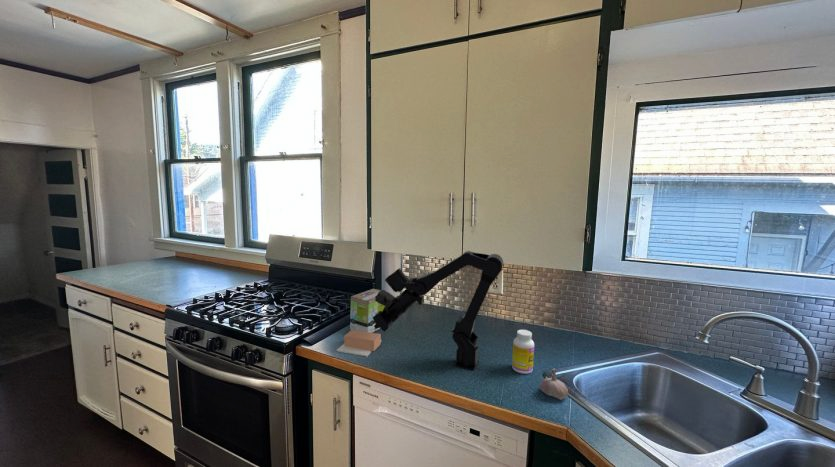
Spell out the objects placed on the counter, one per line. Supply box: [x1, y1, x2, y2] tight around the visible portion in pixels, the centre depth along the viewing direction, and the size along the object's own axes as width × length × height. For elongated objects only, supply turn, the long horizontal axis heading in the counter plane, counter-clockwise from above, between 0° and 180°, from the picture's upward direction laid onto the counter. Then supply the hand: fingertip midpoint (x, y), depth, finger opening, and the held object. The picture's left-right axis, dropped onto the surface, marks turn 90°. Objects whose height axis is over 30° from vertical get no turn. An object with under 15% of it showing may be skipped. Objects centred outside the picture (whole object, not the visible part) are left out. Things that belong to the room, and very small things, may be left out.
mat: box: [336, 339, 382, 358], centre depth 129 cm, size 12×13×1 cm
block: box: [343, 330, 382, 352], centre depth 128 cm, size 4×6×12 cm
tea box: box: [349, 288, 391, 333], centre depth 146 cm, size 15×10×15 cm
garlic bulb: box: [539, 367, 569, 401], centre depth 100 cm, size 8×7×8 cm
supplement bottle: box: [511, 329, 535, 375], centre depth 114 cm, size 7×7×13 cm
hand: (375, 327), depth 126 cm, fingers closed
